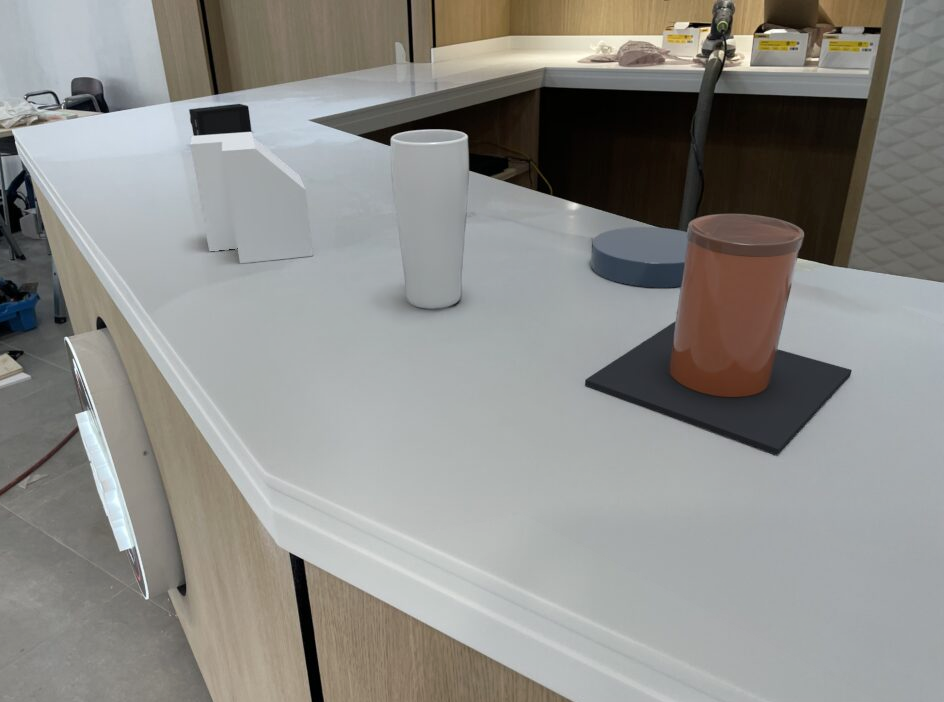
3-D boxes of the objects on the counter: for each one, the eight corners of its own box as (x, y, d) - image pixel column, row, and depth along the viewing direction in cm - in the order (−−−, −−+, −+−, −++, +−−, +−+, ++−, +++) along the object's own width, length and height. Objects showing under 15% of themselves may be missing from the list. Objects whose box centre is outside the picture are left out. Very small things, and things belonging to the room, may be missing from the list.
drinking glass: (389, 311, 67) (379, 142, 60) (408, 285, 73) (401, 128, 66) (461, 316, 66) (460, 144, 59) (475, 289, 71) (475, 129, 64)
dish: (730, 264, 76) (734, 241, 75) (675, 297, 68) (679, 272, 67) (627, 242, 83) (630, 220, 82) (567, 269, 76) (569, 246, 74)
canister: (786, 371, 54) (820, 225, 49) (746, 409, 49) (779, 252, 44) (694, 344, 58) (716, 207, 53) (649, 376, 54) (668, 230, 48)
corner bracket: (210, 238, 89) (191, 135, 83) (303, 229, 91) (292, 128, 85) (208, 266, 79) (188, 153, 74) (312, 255, 82) (300, 145, 76)
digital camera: (242, 139, 149) (237, 102, 145) (253, 142, 145) (248, 105, 141) (193, 145, 143) (186, 108, 140) (203, 149, 139) (196, 111, 136)
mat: (850, 375, 54) (852, 369, 54) (777, 455, 45) (778, 449, 45) (674, 326, 63) (675, 320, 62) (584, 385, 54) (585, 379, 54)
